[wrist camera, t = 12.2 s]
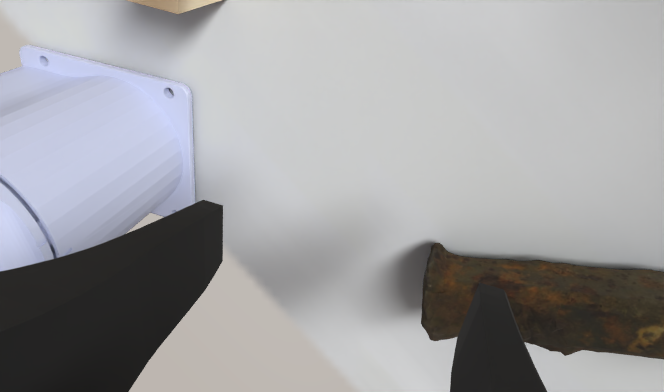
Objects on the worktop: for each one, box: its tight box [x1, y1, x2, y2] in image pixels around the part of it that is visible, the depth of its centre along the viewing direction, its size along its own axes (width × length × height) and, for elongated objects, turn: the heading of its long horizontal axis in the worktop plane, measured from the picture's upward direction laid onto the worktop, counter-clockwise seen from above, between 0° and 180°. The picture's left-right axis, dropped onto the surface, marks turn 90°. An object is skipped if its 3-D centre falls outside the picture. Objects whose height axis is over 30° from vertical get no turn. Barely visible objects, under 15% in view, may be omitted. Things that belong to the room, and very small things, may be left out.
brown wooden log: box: [421, 243, 664, 359], centre depth 19 cm, size 19×4×5 cm, turn 95°
